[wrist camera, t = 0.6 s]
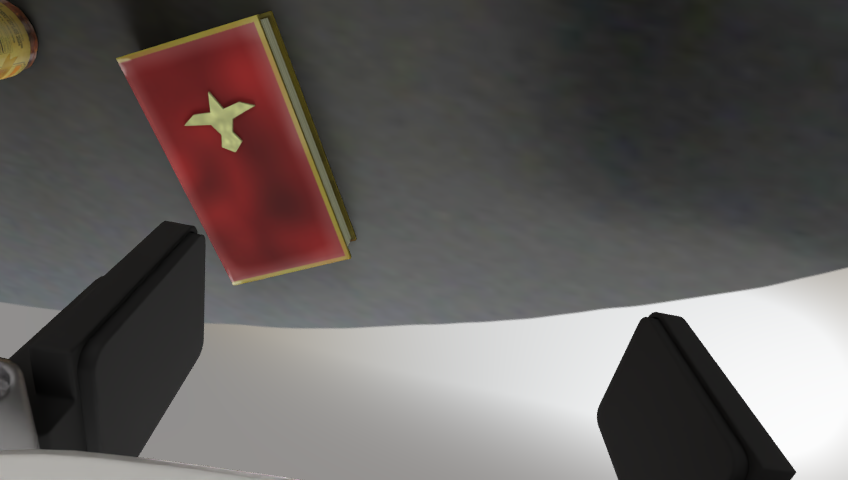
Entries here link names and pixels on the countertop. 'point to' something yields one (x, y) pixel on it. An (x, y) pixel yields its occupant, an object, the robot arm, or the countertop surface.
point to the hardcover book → (244, 147)
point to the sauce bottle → (15, 41)
